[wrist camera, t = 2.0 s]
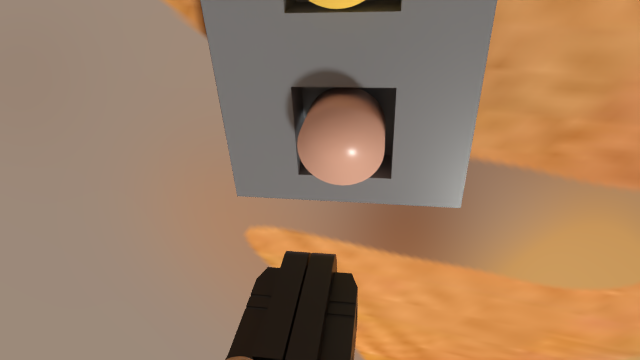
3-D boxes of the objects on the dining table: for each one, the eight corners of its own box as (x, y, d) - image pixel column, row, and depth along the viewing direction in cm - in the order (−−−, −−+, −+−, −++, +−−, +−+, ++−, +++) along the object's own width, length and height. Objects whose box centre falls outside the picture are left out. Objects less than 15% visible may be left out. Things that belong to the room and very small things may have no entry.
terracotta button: (304, 85, 20) (293, 107, 18) (387, 86, 20) (386, 108, 17) (309, 156, 22) (300, 183, 20) (384, 159, 22) (382, 187, 20)
